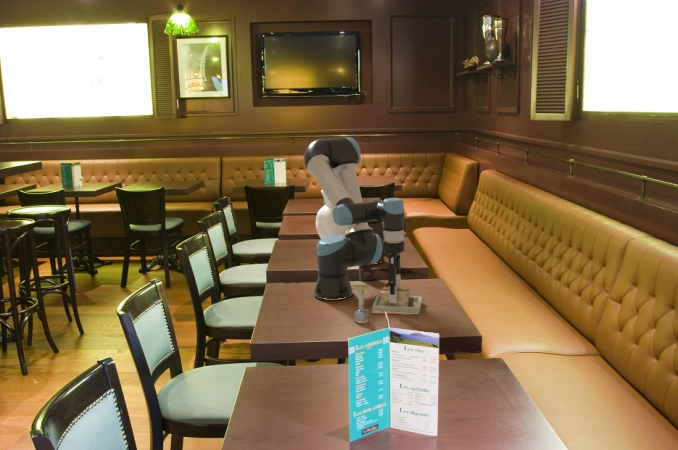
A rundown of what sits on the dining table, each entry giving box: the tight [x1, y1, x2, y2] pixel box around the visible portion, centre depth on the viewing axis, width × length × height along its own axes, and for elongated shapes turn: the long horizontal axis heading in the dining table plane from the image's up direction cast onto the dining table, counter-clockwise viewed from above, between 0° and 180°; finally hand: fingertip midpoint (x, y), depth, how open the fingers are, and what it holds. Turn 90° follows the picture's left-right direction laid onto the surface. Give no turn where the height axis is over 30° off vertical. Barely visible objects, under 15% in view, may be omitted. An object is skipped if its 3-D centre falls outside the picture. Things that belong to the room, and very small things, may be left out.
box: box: [358, 263, 375, 282], centre depth 273 cm, size 6×4×12 cm
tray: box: [371, 294, 423, 315], centre depth 238 cm, size 17×13×3 cm
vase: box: [315, 189, 347, 240], centre depth 332 cm, size 19×21×30 cm
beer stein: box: [367, 221, 390, 263], centre depth 298 cm, size 15×11×20 cm
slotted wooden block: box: [380, 286, 413, 307], centre depth 237 cm, size 12×6×6 cm, turn 79°
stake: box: [351, 284, 370, 322], centre depth 224 cm, size 6×4×13 cm
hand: (395, 296), depth 237 cm, fingers open, 13 cm apart
